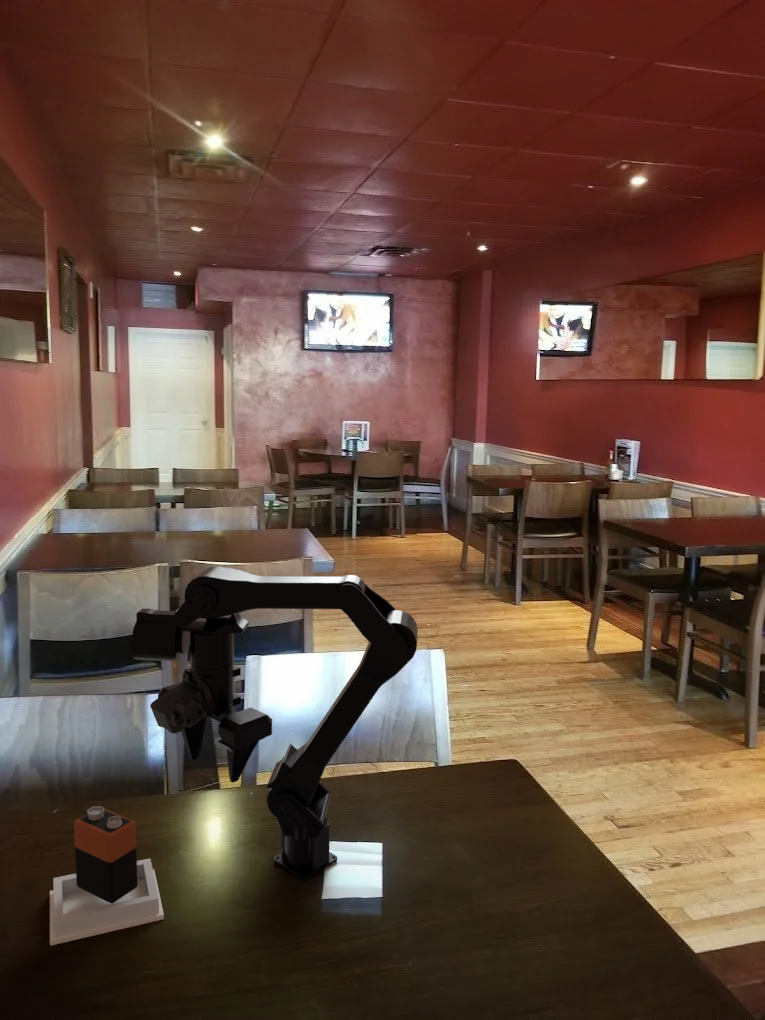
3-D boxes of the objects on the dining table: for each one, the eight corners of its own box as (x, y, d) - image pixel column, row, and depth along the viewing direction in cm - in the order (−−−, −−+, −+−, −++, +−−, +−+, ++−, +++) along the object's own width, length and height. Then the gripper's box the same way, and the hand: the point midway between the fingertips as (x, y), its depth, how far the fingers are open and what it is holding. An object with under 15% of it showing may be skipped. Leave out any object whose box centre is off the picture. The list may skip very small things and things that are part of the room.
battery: (103, 870, 103) (100, 798, 101) (139, 887, 100) (137, 814, 98) (74, 887, 99) (71, 814, 98) (111, 906, 96) (108, 830, 94)
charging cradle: (154, 873, 107) (153, 855, 106) (163, 919, 98) (163, 899, 97) (50, 895, 102) (49, 876, 101) (50, 945, 93) (49, 925, 92)
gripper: (121, 658, 107) (125, 767, 109) (202, 697, 94) (204, 818, 97) (191, 640, 115) (193, 741, 117) (274, 673, 102) (275, 785, 105)
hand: (214, 769), depth 109 cm, fingers open, 9 cm apart
